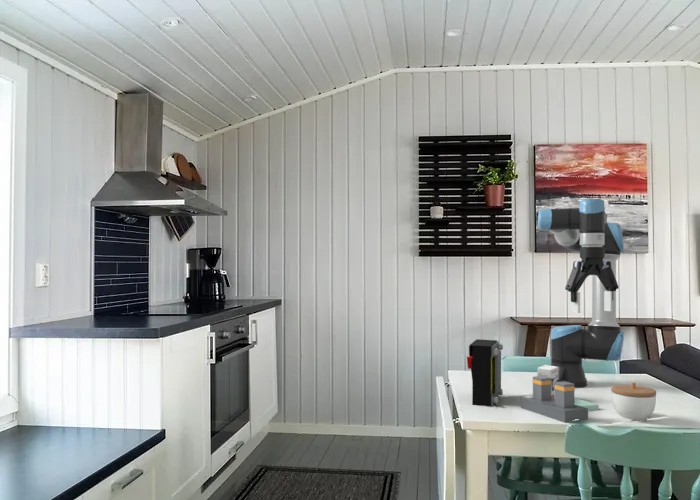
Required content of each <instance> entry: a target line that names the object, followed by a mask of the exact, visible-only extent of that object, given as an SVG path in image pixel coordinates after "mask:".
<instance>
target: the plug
mask: <svg viewBox="0 0 700 500" xmlns="http://www.w3.org/2000/svg"><path fill="white" fill-rule="evenodd" d="M575 391H576V387H575V386H574V384H573V383H569V382H565V381H564V382H555V406H557V407H560V408H563V409H566V408H574V398H575Z"/></svg>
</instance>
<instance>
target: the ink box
mask: <svg viewBox="0 0 700 500" xmlns="http://www.w3.org/2000/svg"><path fill="white" fill-rule="evenodd" d="M536 373H537V376H545V377H549V378H551V381H552V384H551V398H554V399H555V382H558V367H556V366H551V364H550V365H549V364H543V365H542V366H538V367H537V372H536Z"/></svg>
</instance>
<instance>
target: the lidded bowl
mask: <svg viewBox="0 0 700 500" xmlns="http://www.w3.org/2000/svg"><path fill="white" fill-rule="evenodd" d="M610 388H611V389H610V390H611V399H612V404H613V405H612V406H613V408H614V410H615V412H616V413H617V414H618V415H619V416H620V417H622V418H624V419H628V420H629V419H630V421H631V422H646V421H647V420H648V419H649V417H651V415H652V414H654V411H655V410H656V409H655V408H656V404H657V403H656V402H657V390H655V388H651V387H647V386H643V385H637V384H636V382H635V381H633V382H631V384H616V385H612V386H611V387H610Z"/></svg>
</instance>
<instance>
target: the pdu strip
mask: <svg viewBox="0 0 700 500" xmlns="http://www.w3.org/2000/svg"><path fill="white" fill-rule="evenodd" d="M551 384H552V381H551V378H549V377H545V376H536V375H535V376H532V394H530V395H529V394H528V395H523V396H521V397H520V408H521V409H524V410H526V411H529V412H533V413H535V414H538V415H541V416H544V417H547V418H549V419H552V420H555V421H558V422H561V423H563V424H565V423H571V422H570V421H572V420H575V419H579V420H583V421H588V420H589V411H588V408H585V407H582V406H578V405H575V404H574V408H566V409H563V408H560V407H557V406H555V399H554V398H551Z"/></svg>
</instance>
